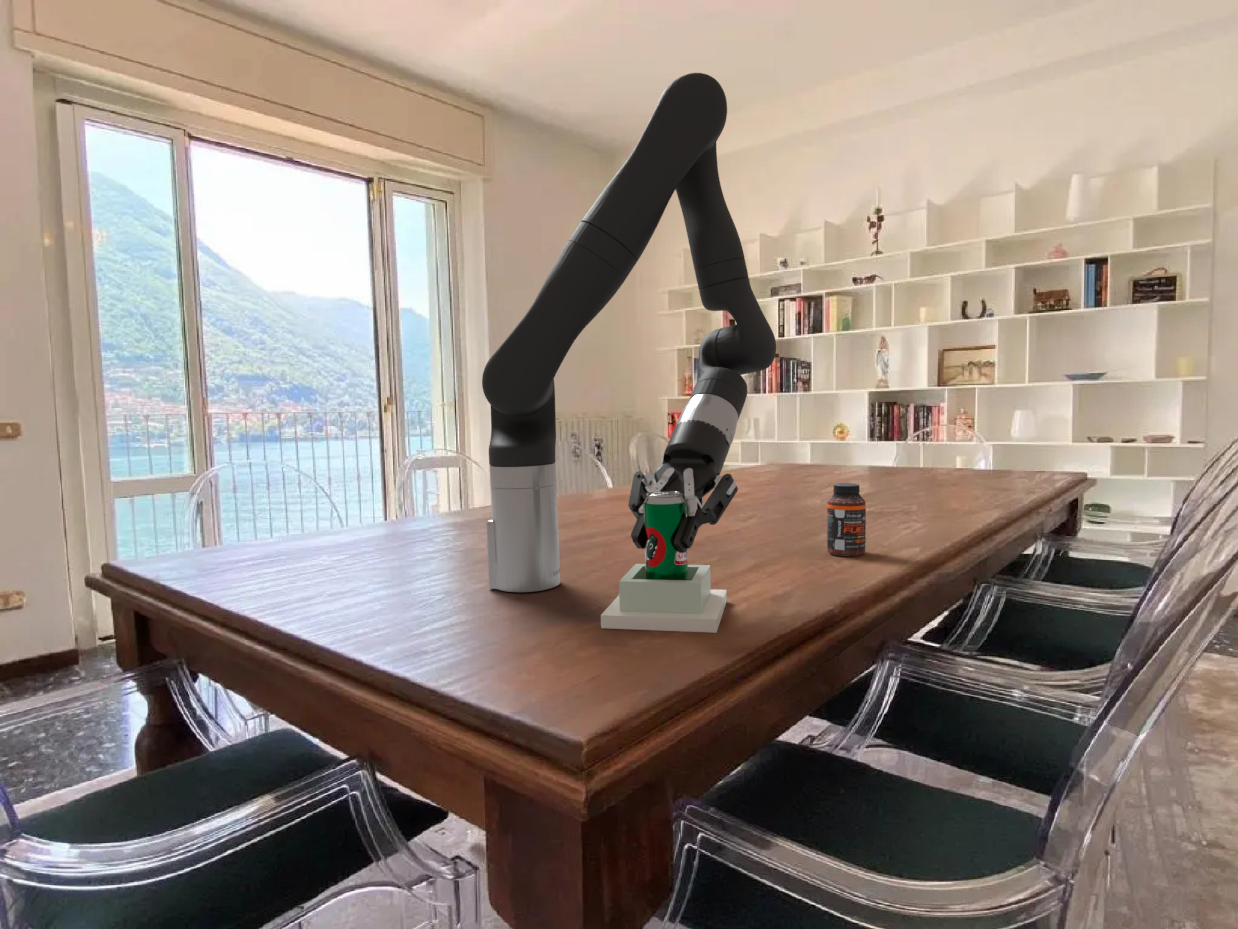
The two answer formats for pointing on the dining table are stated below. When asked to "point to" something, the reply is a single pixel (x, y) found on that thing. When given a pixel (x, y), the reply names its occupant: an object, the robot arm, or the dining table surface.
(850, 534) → the supplement bottle
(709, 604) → the socket holder
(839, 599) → the dining table surface
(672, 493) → the soda can
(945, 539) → the dining table surface
